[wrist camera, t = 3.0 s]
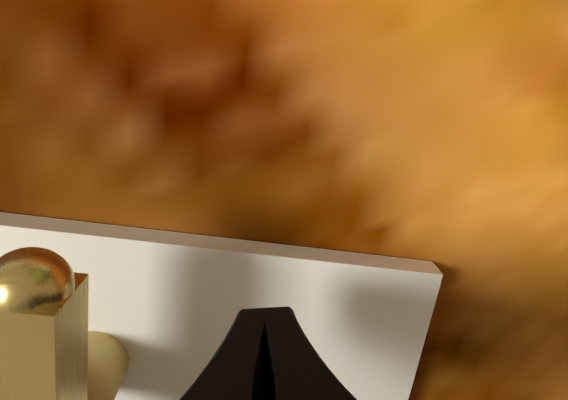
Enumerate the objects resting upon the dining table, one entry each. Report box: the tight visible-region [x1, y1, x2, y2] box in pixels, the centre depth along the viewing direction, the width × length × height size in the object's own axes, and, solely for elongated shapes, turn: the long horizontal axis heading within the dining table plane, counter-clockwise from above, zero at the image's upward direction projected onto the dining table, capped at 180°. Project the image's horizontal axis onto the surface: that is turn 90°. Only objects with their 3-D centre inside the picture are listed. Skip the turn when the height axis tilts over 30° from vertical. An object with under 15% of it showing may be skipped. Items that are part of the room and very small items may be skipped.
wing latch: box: [0, 247, 89, 400], centre depth 10 cm, size 3×7×2 cm, turn 172°
